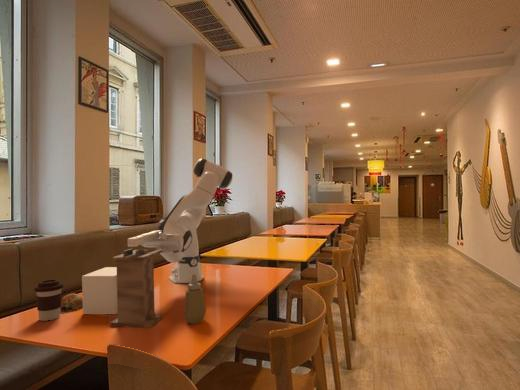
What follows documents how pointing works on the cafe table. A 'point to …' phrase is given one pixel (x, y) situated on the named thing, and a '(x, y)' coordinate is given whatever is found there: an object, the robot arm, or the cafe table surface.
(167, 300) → the cafe table surface
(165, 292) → the cafe table surface
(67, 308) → the bread roll
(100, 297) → the cream tilted cube
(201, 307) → the squeeze bottle
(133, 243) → the brushed metal block
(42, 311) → the coffee cup
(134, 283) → the walnut stand
